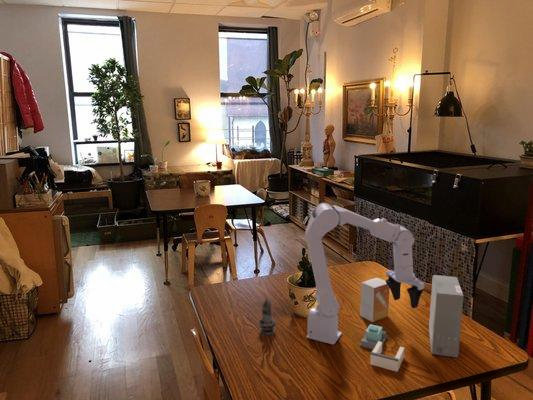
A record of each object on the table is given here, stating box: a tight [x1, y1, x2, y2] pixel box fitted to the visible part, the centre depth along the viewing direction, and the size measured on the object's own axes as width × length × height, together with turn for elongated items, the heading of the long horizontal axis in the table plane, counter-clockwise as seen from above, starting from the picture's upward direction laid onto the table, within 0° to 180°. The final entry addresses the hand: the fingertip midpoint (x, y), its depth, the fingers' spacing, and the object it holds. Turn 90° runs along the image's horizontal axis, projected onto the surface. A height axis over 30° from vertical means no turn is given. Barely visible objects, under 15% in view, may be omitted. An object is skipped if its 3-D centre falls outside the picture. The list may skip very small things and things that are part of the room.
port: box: [369, 341, 405, 372], centre depth 126 cm, size 8×8×4 cm
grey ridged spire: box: [257, 298, 277, 336], centre depth 143 cm, size 6×6×12 cm
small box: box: [359, 277, 390, 323], centre depth 152 cm, size 8×6×13 cm
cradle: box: [359, 330, 388, 351], centre depth 136 cm, size 9×6×2 cm
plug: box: [364, 324, 383, 342], centre depth 136 cm, size 5×4×5 cm
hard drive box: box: [428, 274, 465, 358], centre depth 133 cm, size 16×8×20 cm, turn 163°
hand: (405, 303), depth 139 cm, fingers open, 7 cm apart
